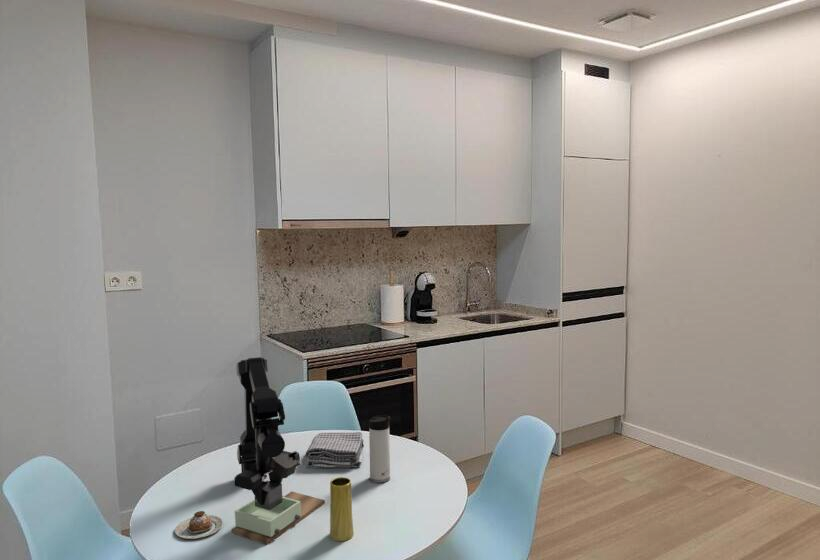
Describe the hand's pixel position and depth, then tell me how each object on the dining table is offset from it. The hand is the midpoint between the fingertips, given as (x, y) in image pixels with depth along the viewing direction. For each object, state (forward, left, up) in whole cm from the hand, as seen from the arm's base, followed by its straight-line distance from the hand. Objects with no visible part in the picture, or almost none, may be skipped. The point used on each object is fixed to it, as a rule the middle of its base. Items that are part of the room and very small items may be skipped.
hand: (268, 500), depth 153 cm
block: (0, 0, -1) cm, 1 cm away
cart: (0, 0, -5) cm, 5 cm away
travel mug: (+12, +37, -7) cm, 40 cm away
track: (0, +4, -7) cm, 8 cm away
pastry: (-15, -10, -7) cm, 20 cm away
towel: (-9, +44, -7) cm, 45 cm away
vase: (+20, +4, -7) cm, 22 cm away
